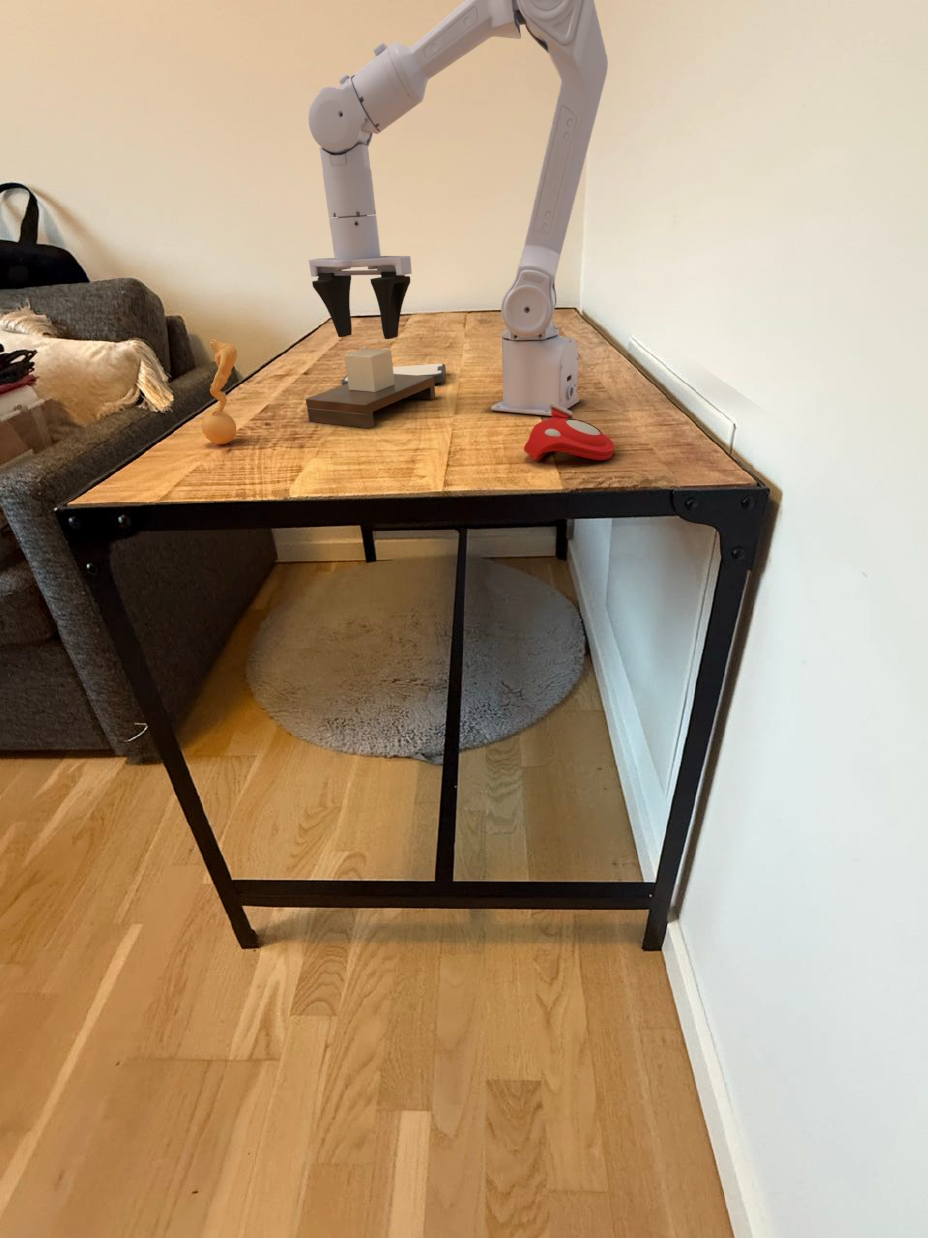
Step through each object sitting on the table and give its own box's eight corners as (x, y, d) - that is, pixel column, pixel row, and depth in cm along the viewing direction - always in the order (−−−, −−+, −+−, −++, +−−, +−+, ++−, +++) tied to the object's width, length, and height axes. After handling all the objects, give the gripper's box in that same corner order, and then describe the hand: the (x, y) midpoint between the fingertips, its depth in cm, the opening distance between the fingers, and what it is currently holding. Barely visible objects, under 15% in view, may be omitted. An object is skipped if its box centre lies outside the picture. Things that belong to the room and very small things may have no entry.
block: (394, 384, 92) (391, 349, 90) (375, 392, 89) (371, 356, 86) (368, 382, 94) (364, 348, 92) (348, 389, 91) (343, 354, 88)
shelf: (435, 397, 97) (434, 376, 95) (368, 428, 85) (365, 404, 83) (379, 393, 101) (377, 372, 99) (309, 421, 90) (305, 398, 88)
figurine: (213, 435, 86) (187, 335, 80) (260, 431, 87) (239, 331, 80) (199, 455, 79) (171, 347, 73) (251, 450, 80) (227, 343, 73)
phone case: (341, 392, 104) (444, 384, 103) (340, 381, 103) (443, 373, 102) (350, 379, 111) (446, 372, 110) (348, 369, 110) (445, 362, 110)
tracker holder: (637, 443, 70) (567, 440, 65) (620, 481, 73) (552, 481, 67) (568, 396, 78) (500, 389, 72) (554, 431, 80) (488, 428, 75)
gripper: (285, 221, 81) (305, 340, 89) (381, 215, 75) (395, 344, 82) (323, 218, 87) (339, 331, 94) (416, 212, 80) (426, 334, 87)
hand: (367, 336), depth 88 cm, fingers open, 7 cm apart
